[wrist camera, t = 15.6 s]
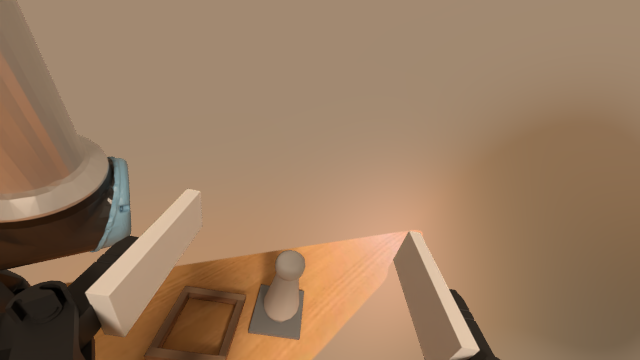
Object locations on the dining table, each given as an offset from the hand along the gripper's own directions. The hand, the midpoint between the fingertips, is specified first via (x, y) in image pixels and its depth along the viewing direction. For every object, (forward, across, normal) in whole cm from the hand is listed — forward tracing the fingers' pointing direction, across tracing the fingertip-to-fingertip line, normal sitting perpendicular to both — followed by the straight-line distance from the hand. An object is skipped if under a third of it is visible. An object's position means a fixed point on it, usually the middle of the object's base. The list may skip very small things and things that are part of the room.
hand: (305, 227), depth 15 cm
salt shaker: (+12, 0, -30) cm, 32 cm away
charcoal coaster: (+12, 0, -30) cm, 32 cm away
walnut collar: (+8, -11, -30) cm, 33 cm away
